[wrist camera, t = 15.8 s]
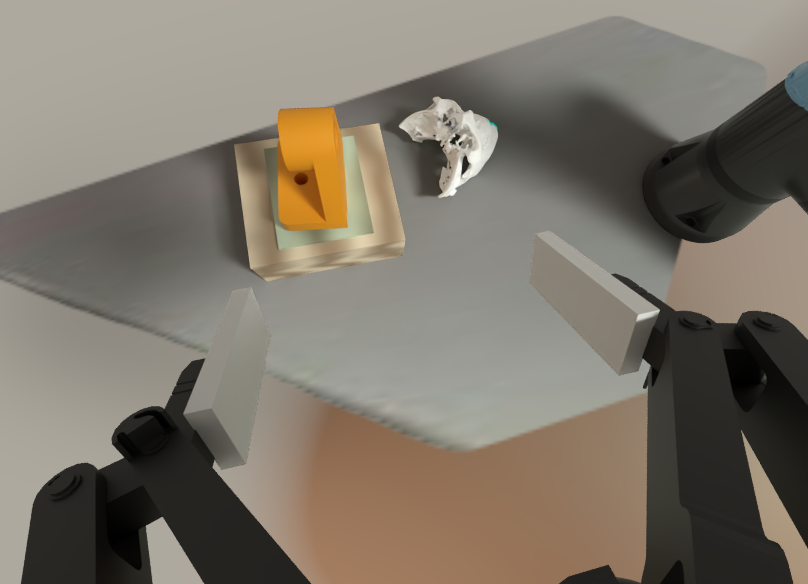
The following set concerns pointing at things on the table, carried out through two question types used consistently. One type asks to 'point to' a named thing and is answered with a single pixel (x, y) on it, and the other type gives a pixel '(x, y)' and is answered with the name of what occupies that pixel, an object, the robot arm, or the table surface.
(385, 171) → the riser stand
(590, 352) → the table surface
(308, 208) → the bracket
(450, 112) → the white bone skull
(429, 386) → the table surface
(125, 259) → the table surface
